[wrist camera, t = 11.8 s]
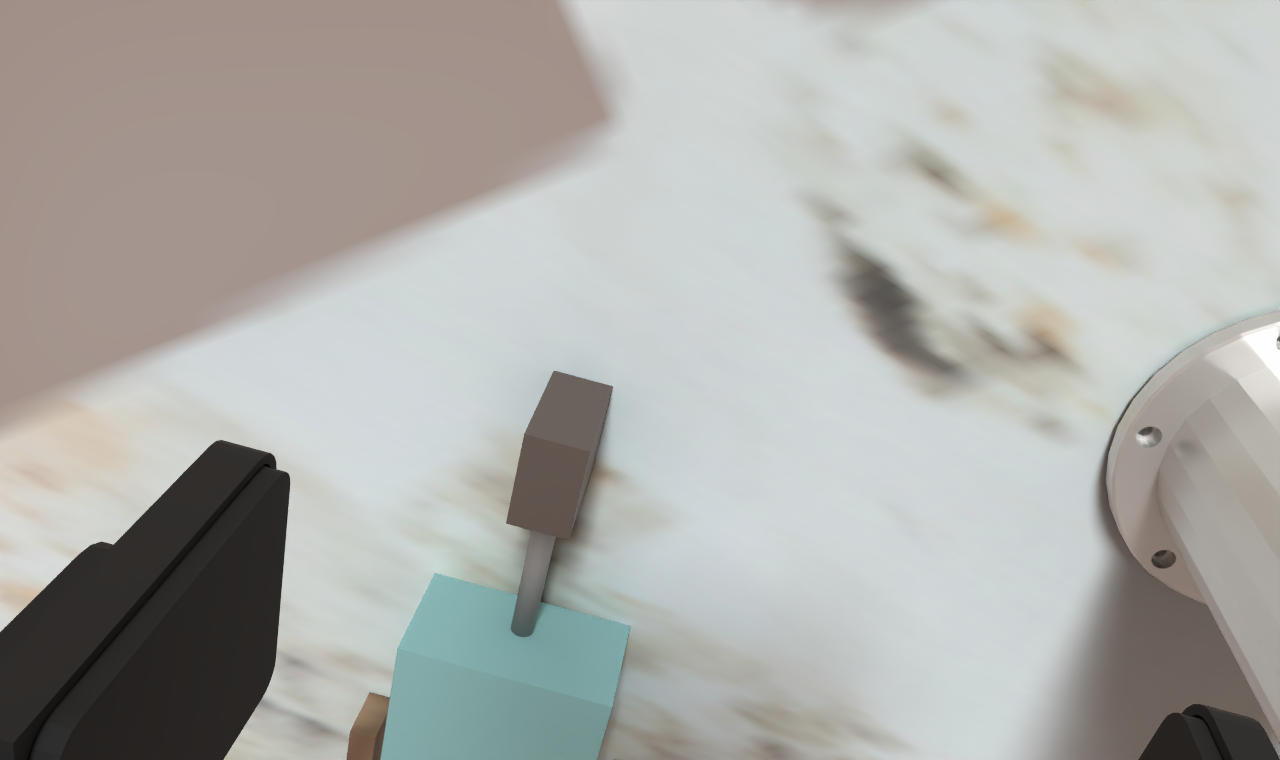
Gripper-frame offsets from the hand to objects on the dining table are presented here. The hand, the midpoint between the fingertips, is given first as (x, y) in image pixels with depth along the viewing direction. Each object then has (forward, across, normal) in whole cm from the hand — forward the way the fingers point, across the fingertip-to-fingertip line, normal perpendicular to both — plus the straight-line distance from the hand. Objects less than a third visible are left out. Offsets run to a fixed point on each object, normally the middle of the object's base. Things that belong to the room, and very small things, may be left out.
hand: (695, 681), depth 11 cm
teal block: (+28, +4, +22) cm, 36 cm away
